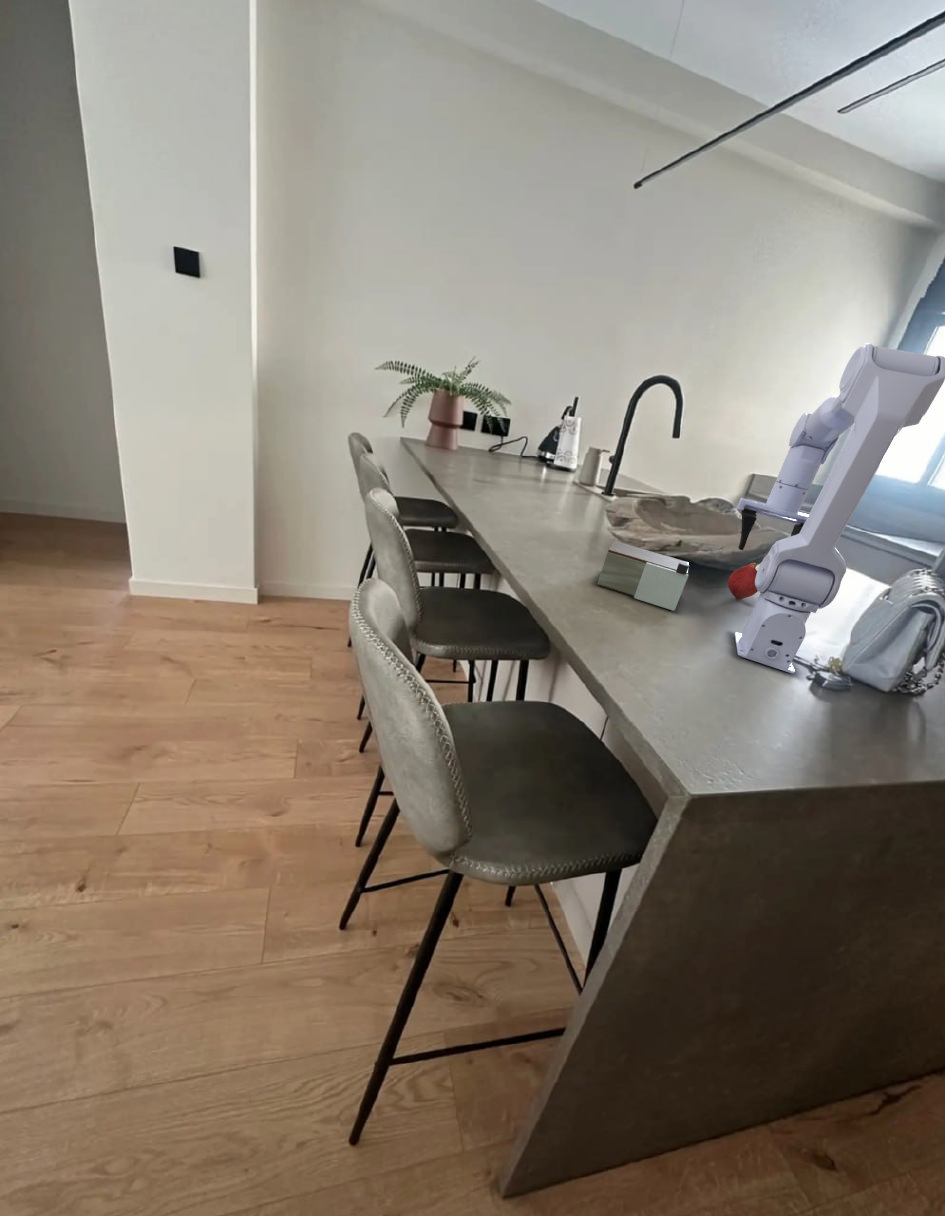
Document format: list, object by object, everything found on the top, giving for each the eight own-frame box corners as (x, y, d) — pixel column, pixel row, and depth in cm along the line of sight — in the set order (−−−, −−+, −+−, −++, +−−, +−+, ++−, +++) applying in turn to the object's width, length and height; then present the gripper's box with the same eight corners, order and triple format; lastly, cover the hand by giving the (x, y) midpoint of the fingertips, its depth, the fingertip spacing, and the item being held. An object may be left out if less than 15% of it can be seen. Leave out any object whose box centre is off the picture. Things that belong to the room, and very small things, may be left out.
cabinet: (673, 610, 93) (687, 574, 90) (596, 585, 97) (608, 550, 94) (675, 596, 100) (688, 562, 97) (603, 574, 104) (614, 540, 101)
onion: (724, 599, 105) (740, 562, 101) (720, 590, 110) (735, 554, 107) (754, 608, 104) (772, 570, 100) (749, 598, 109) (765, 562, 105)
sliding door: (674, 611, 92) (691, 567, 88) (633, 598, 94) (649, 554, 90) (674, 609, 93) (692, 565, 89) (634, 596, 95) (649, 553, 91)
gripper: (830, 493, 98) (798, 561, 103) (748, 473, 102) (721, 539, 107) (839, 497, 92) (804, 569, 97) (752, 476, 96) (723, 546, 101)
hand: (761, 554), depth 102 cm, fingers open, 7 cm apart
